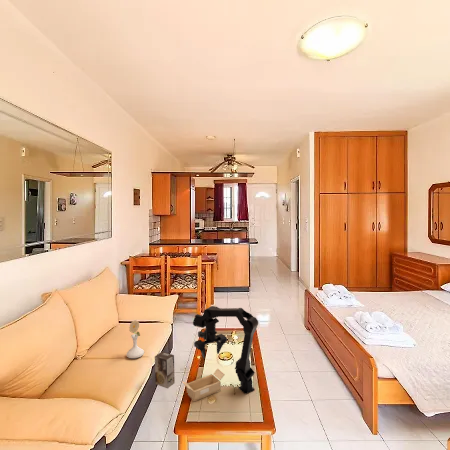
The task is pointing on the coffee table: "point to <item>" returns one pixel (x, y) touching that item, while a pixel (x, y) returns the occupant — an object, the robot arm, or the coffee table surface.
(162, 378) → the coffee box
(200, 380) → the carton
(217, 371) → the inner flap
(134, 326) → the flower in vase
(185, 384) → the outer flap
